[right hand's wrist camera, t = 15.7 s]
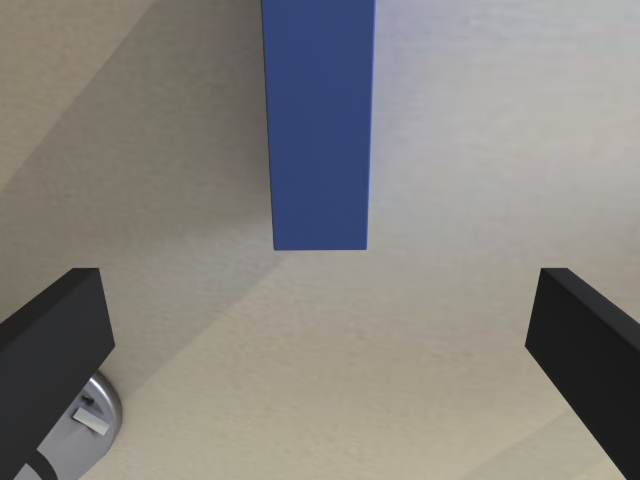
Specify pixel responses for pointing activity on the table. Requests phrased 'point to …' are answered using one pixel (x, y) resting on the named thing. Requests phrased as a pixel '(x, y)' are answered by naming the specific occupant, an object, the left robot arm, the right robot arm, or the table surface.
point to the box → (319, 120)
